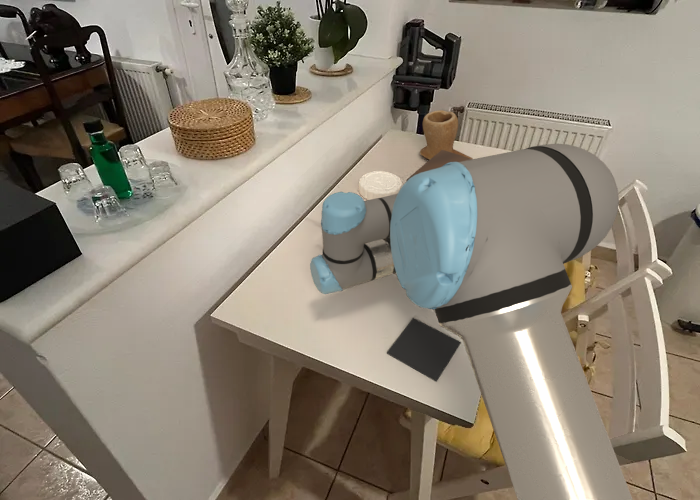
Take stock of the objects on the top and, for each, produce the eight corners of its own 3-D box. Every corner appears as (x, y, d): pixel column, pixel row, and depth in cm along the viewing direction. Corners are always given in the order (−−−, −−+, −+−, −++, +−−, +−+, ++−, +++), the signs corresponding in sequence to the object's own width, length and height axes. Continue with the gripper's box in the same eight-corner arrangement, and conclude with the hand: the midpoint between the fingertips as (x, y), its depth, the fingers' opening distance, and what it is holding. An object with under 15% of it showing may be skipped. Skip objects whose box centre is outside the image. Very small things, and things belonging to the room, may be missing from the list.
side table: (497, 223, 109) (512, 171, 99) (468, 261, 97) (483, 206, 88) (433, 199, 117) (441, 149, 107) (400, 232, 105) (406, 179, 95)
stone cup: (410, 157, 135) (415, 110, 125) (436, 146, 141) (443, 101, 131) (446, 177, 126) (454, 128, 116) (472, 165, 131) (483, 118, 122)
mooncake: (409, 188, 121) (410, 177, 118) (388, 208, 113) (389, 196, 111) (372, 175, 126) (373, 164, 123) (350, 194, 118) (350, 182, 116)
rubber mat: (460, 343, 80) (460, 342, 80) (436, 381, 73) (436, 380, 73) (413, 319, 84) (413, 317, 84) (386, 353, 78) (386, 352, 78)
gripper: (364, 242, 95) (451, 217, 102) (410, 302, 81) (506, 269, 89) (366, 214, 90) (456, 191, 98) (415, 273, 76) (515, 240, 84)
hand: (480, 228), depth 93 cm, fingers closed on soda can, 7 cm apart
